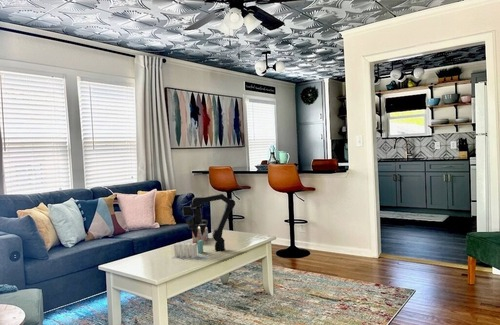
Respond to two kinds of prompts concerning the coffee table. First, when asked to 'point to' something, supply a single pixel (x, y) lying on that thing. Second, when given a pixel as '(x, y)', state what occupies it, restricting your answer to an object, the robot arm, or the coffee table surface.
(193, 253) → the domino
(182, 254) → the domino
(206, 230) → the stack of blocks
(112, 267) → the coffee table surface
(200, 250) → the domino
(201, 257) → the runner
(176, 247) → the domino
